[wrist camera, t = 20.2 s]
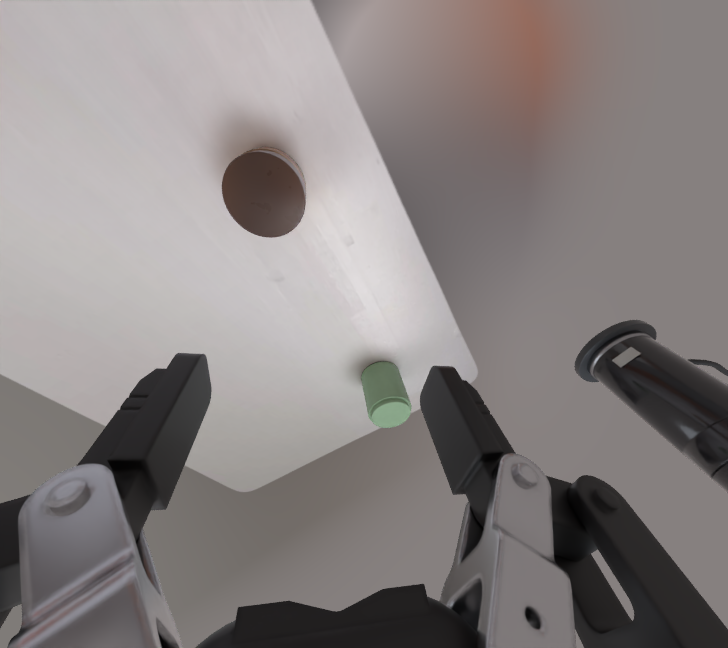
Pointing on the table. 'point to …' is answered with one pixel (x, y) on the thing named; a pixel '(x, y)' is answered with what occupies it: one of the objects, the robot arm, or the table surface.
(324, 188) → the table surface
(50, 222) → the table surface
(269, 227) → the walnut chip
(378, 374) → the green lidded canister
